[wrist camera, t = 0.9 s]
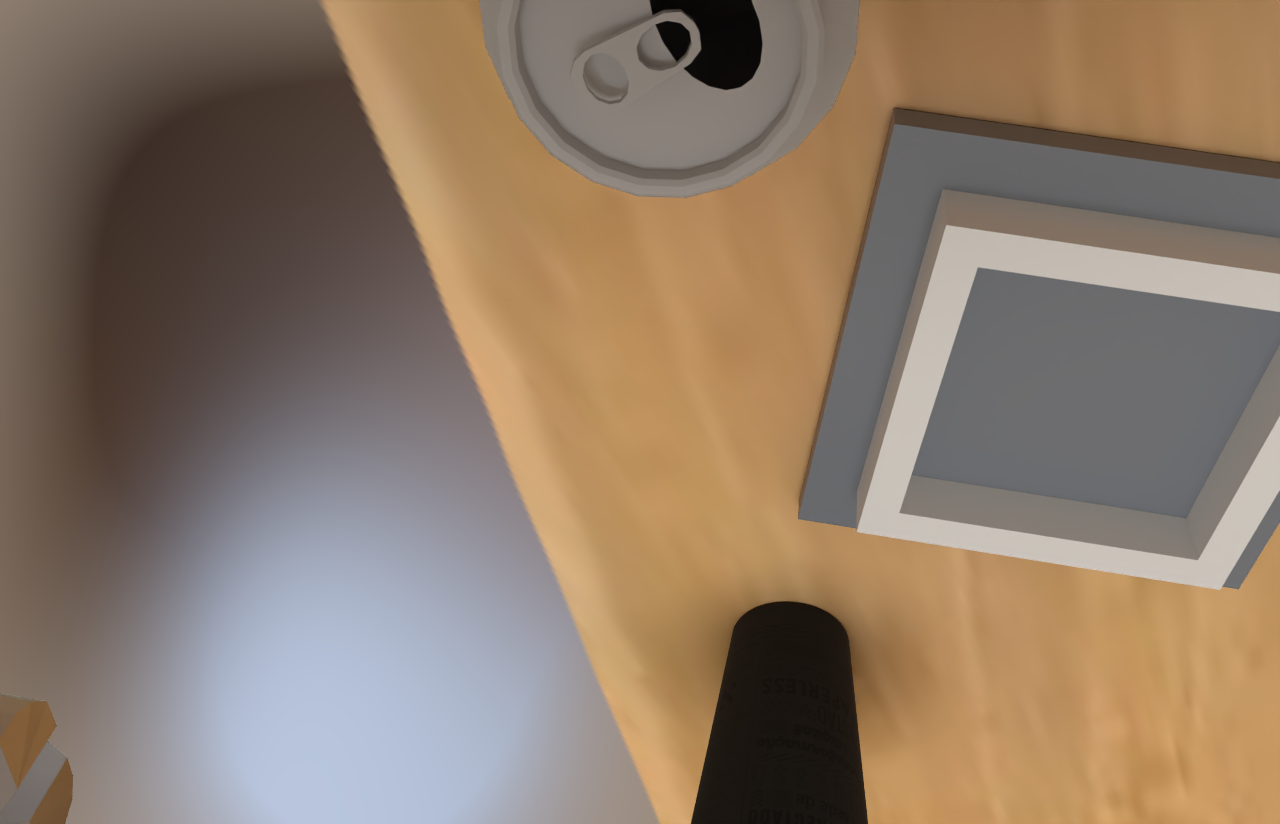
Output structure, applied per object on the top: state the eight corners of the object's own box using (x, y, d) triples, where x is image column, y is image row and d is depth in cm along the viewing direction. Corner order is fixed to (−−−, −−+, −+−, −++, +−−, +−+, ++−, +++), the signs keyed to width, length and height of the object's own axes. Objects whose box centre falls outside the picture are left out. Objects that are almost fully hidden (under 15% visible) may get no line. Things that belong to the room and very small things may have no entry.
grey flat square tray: (894, 107, 35) (895, 158, 33) (1459, 188, 35) (1501, 246, 32) (799, 500, 46) (795, 558, 44) (1232, 568, 45) (1251, 632, 43)
